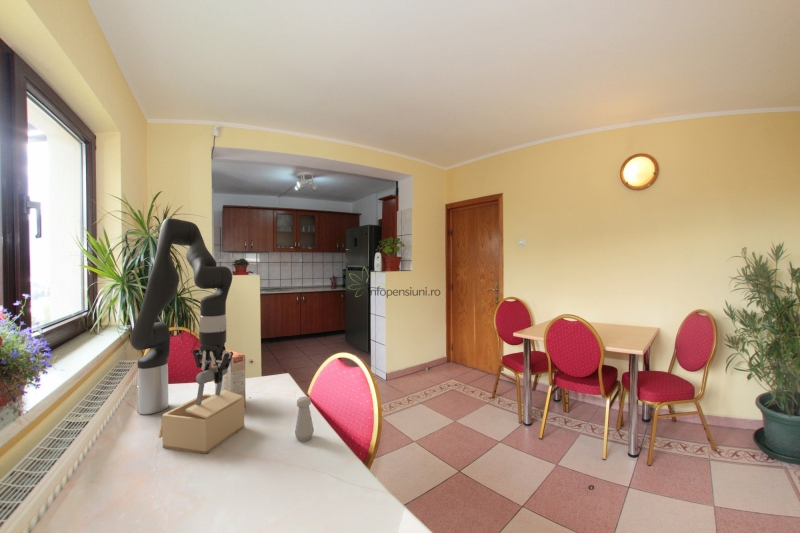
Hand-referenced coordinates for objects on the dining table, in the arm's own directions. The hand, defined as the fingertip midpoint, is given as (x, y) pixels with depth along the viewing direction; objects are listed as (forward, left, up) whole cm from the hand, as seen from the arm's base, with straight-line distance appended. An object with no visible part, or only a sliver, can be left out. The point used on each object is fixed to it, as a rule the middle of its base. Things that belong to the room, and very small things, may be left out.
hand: (212, 381), depth 103 cm
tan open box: (-4, 0, -18) cm, 19 cm away
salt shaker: (+29, +6, -18) cm, 35 cm away
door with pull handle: (+1, 0, -7) cm, 7 cm away
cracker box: (-12, +21, -18) cm, 30 cm away
